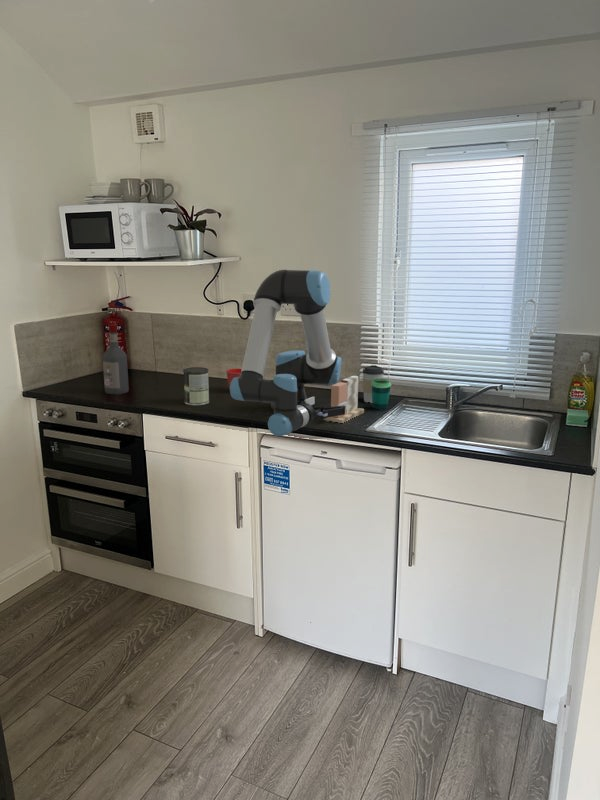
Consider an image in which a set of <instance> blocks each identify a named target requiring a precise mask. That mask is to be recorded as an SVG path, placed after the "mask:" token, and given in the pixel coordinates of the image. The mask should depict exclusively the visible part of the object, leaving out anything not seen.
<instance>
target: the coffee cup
mask: <svg viewBox="0 0 600 800" xmlns="http://www.w3.org/2000/svg"><path fill="white" fill-rule="evenodd" d="M384 374H385V371H384V369H382V367H381V366H378V365H375V364H371V365H369V366H368V365H367V366H365V367H364V368H363V369H362V389H363V401H364V403H368V402H370V404H373V402H372V385H371V383H372V382H373V380H374V379H377V378H384Z"/></svg>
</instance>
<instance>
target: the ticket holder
mask: <svg viewBox="0 0 600 800" xmlns="http://www.w3.org/2000/svg"><path fill="white" fill-rule="evenodd" d="M340 382H343V383H347V413H346V414H345V415H342V416H340V417H328V418H325V419H323V421H324V420H326V421H325V422H329V421H332V422H331V423H334V422H338V423H337V424H340V423H343V424H345V423H347V422H348V420H349V421H351V420H353V419H354V417H355V418H356V416H357V417H358V416H360V415H362V414H364V413H365V409H364V408H362V407H361V408H360V407H359V408H358V403H359V401H358V399H359V397H358V396H359V376H358V375H351V376H349V377H346V378H343V379H341V381H340ZM352 418H353V419H352ZM350 419H351V420H350ZM346 421H347V422H346ZM344 422H345V423H344Z"/></svg>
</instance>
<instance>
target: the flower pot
mask: <svg viewBox="0 0 600 800" xmlns="http://www.w3.org/2000/svg"><path fill="white" fill-rule="evenodd" d="M241 370H242V368H230V369H227V370H226V378H227V383H228V389H229V390H230V384H231V381H232V379H233V378H235V377H240V375H241Z"/></svg>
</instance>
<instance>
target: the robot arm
mask: <svg viewBox="0 0 600 800" xmlns="http://www.w3.org/2000/svg"><path fill="white" fill-rule="evenodd" d="M330 299H331V285H330V279H329V277H328V275H327V274H326V273H325V272H324V271H321V270H316V269H311V270H301V269H297V270H296V269H278V270H275V271H273V272H272V273H271V274H269V275H268V276H267V277H265V279H264V280H263V281H262V282H261V283H260V285H259V287H258V288H257V290H256V292H255V295H254V298H253V303H252V305H253V307H254V311H253V315H252V320H251V326H250V330H249V334H248V340H247V343H246V348H245V352H244V357H243V360H242V367H241V369H242V370H241V375H240V377H235V378H233V379H232V381H231V384H230V389H229V393H230V396H231V398H232V399H234V400H237V401H243V402H259V403H267V404H270V405H271V409H272V410H273V414H272V415H271V416H270V417H269V418H268V421H267V427H268V429H269V432H270V433H271V434H272V435H273V436H276V437H283V436H286V435H290V434H291V433H293V432H294V431H297V430H299V429H301V428H303V427H305V426H308V425H310V424H312V423H313V422H314V421H315V419H316V418H319V417H320V418H322V419H323V420H324V419H325V418H328V417H333V416H339V415H340V416H341V415H345V410H346V409H347V402H343V403H341V404H339V405H337V406H335V407H331V406H325V407H324V406H322V405H321V406H320V405H318V406H316V405H315V402H316V401H315V400H316V399H315V398H316V396H311V397H308V396H307V395H306V394H307V393H306V390H305V385H310V386H313V385H315V386H325V387H331V385H334V384H336V383H339V382H340V381H339V380H340V377H341V372H342V364H343V362H342V361H343V360H342V359H343V358H342V357H340V356H337V355H336V352H335V351H334V350H333V349H332V348H331V343H330V337H329V331H328V327H327V322H326V315H325V309H326V307H327V305H328V304H329V302H330ZM283 304H284V305H293V307H294V311H295V312H297V314H299V316H300V319H301V324H302V328H303V334H304V338H305V342H306V347H307V354H306V352H305V350H299V349H297V350H288V351H283V352H280V353H277V355H276V356H275V374H274V376H273V379H265V378H264V375H265V369H266V364H267V360H268V354H269V351H270V346H271V340H272V336H273V331H274V327H275V323H276V322H275V321H276V318H277V313H279V312H280V311H281V308H282V305H283Z"/></svg>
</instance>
